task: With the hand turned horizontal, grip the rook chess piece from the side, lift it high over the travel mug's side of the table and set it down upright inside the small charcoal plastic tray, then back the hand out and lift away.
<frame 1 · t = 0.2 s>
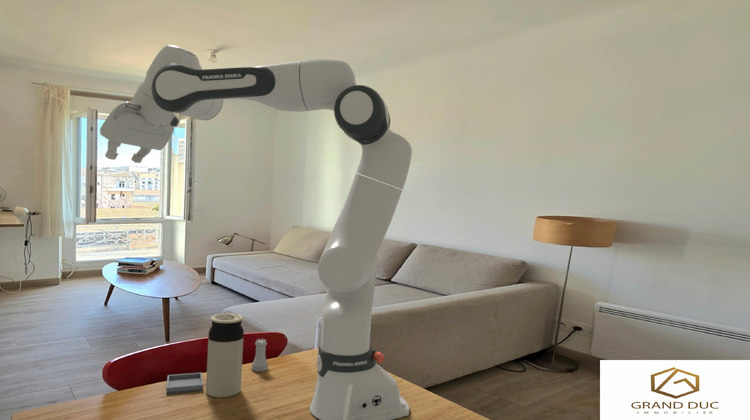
hand: (123, 160, 114), 54 cm above the table, tool tilted 30°, fingers open, 8 cm apart
travel mug: (223, 392, 115), on the table
tray: (184, 385, 117), on the table
rook chess piece: (259, 370, 131), on the table
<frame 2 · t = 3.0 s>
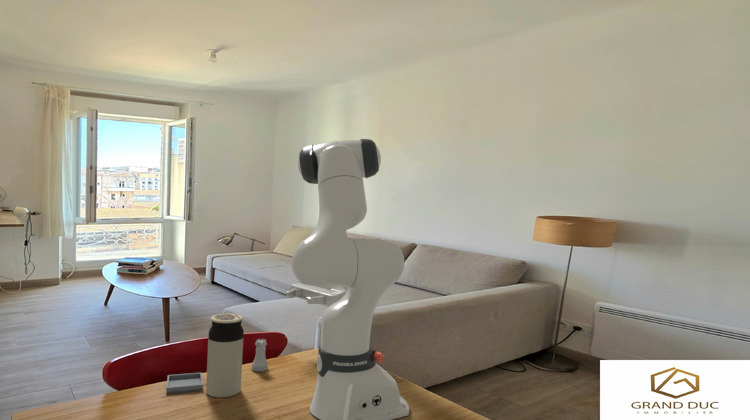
hand: (297, 297, 139), 18 cm above the table, tool horizontal, fingers open, 8 cm apart
nothing on the table moved.
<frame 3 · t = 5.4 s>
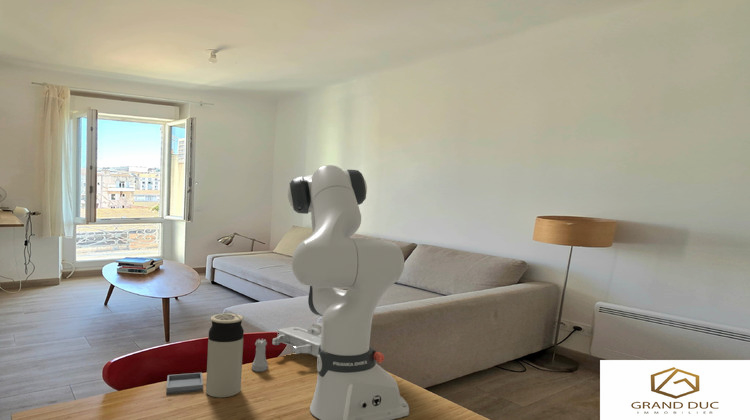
hand: (283, 346, 136), 5 cm above the table, tool horizontal, fingers open, 8 cm apart
nothing on the table moved.
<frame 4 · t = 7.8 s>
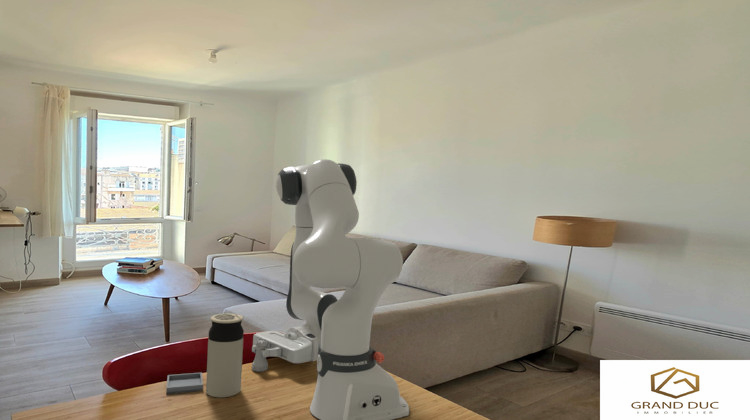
hand: (257, 351, 130), 5 cm above the table, tool horizontal, fingers closed on rook chess piece, 3 cm apart
rook chess piece: (259, 370, 131), on the table, touching gripper
everything else where it was.
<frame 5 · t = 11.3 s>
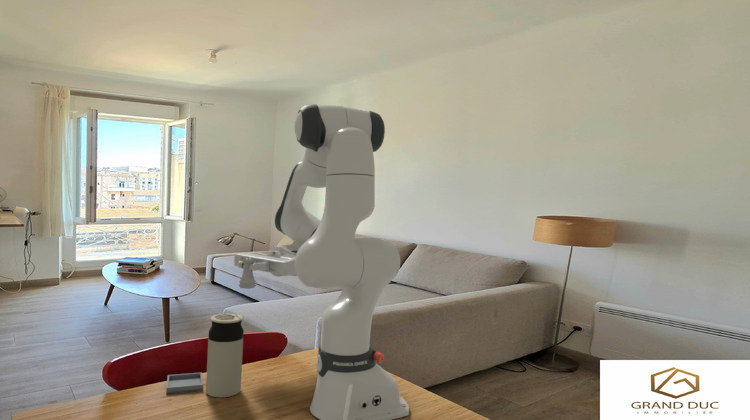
hand: (245, 266, 127), 28 cm above the table, tool horizontal, fingers closed on rook chess piece, 3 cm apart
rook chess piece: (247, 287, 128), point 22 cm above the table, touching gripper
everything else where it was.
when the fingers open (6 cm above the table, at t = 15.3 s): rook chess piece moves 1 cm, resting on tray.
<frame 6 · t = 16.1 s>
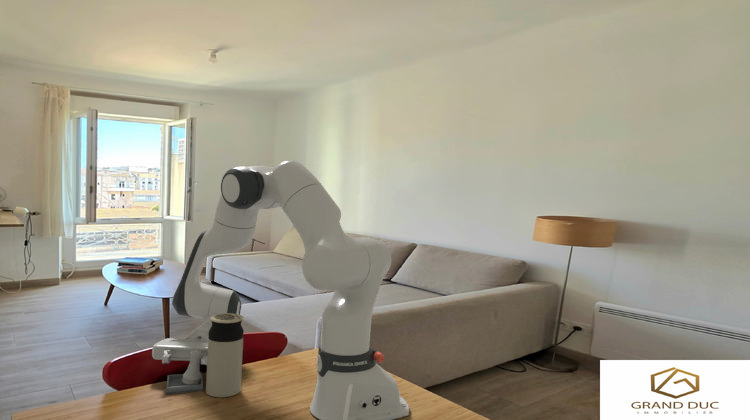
hand: (184, 361, 116), 6 cm above the table, tool horizontal, fingers open, 8 cm apart
rook chess piece: (190, 382, 117), point 1 cm above the table, touching gripper, tray
everything else where it was.
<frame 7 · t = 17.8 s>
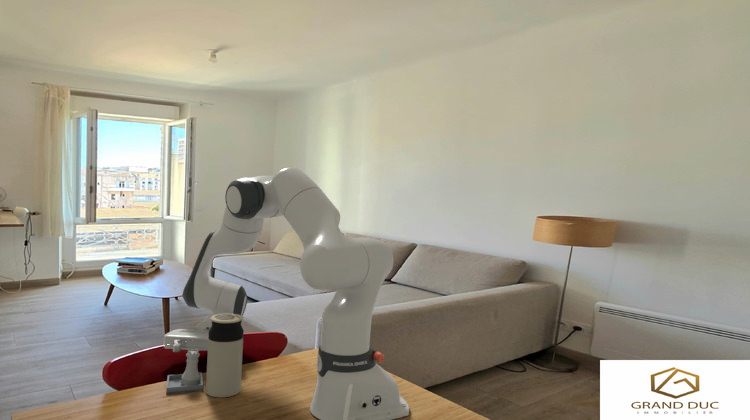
hand: (194, 349, 123), 7 cm above the table, tool horizontal, fingers open, 8 cm apart
rook chess piece: (190, 383, 117), resting on tray
everything else where it was.
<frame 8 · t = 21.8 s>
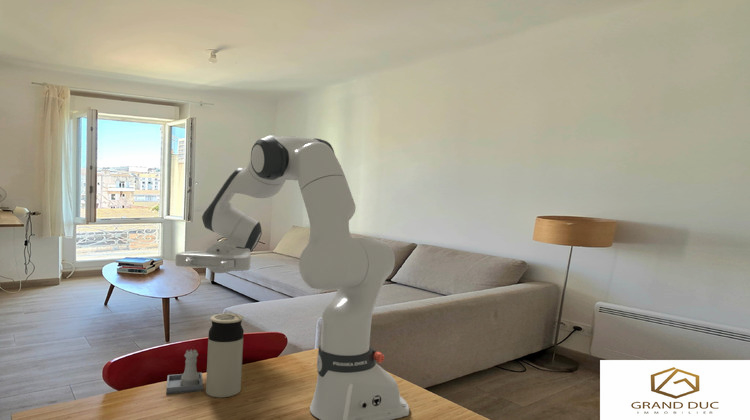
hand: (205, 264, 128), 28 cm above the table, tool horizontal, fingers open, 8 cm apart
nothing on the table moved.
at the end: rook chess piece 1.2 cm off-centre on the tray, point 0.3 cm above the tray's base; rook chess piece tilted 0°; the gripper is holding nothing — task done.
